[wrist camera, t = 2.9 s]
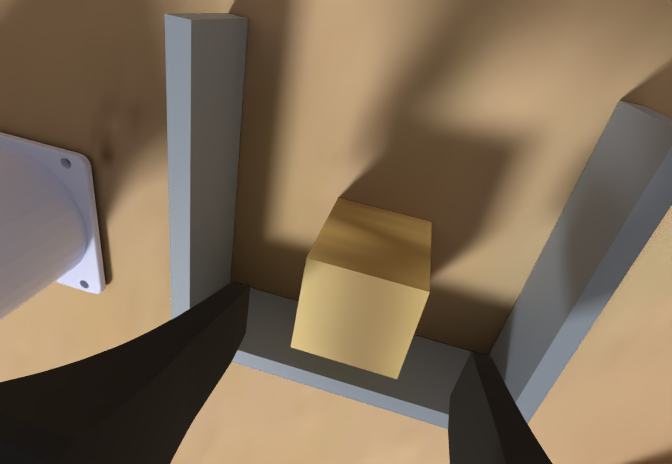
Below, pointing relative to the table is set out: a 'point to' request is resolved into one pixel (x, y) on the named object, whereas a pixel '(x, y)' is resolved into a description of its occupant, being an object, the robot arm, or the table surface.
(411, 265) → the block
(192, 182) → the u-shaped frame
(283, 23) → the table surface
